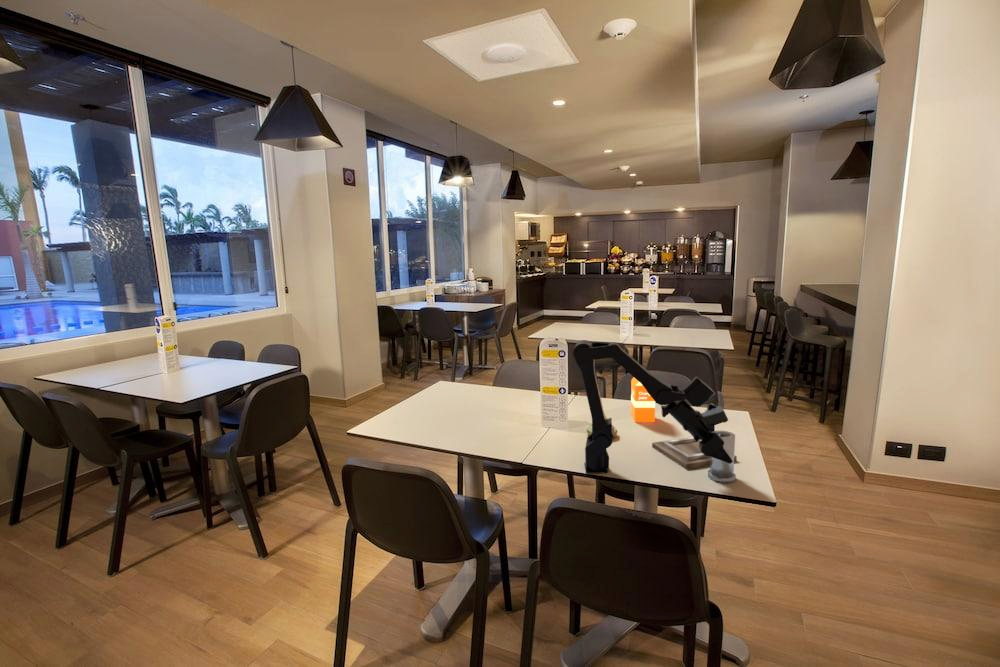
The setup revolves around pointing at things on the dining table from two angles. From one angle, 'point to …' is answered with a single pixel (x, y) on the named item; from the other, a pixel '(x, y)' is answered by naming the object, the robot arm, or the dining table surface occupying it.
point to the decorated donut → (589, 430)
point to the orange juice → (641, 403)
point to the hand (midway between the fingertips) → (727, 455)
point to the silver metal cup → (719, 468)
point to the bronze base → (684, 452)
